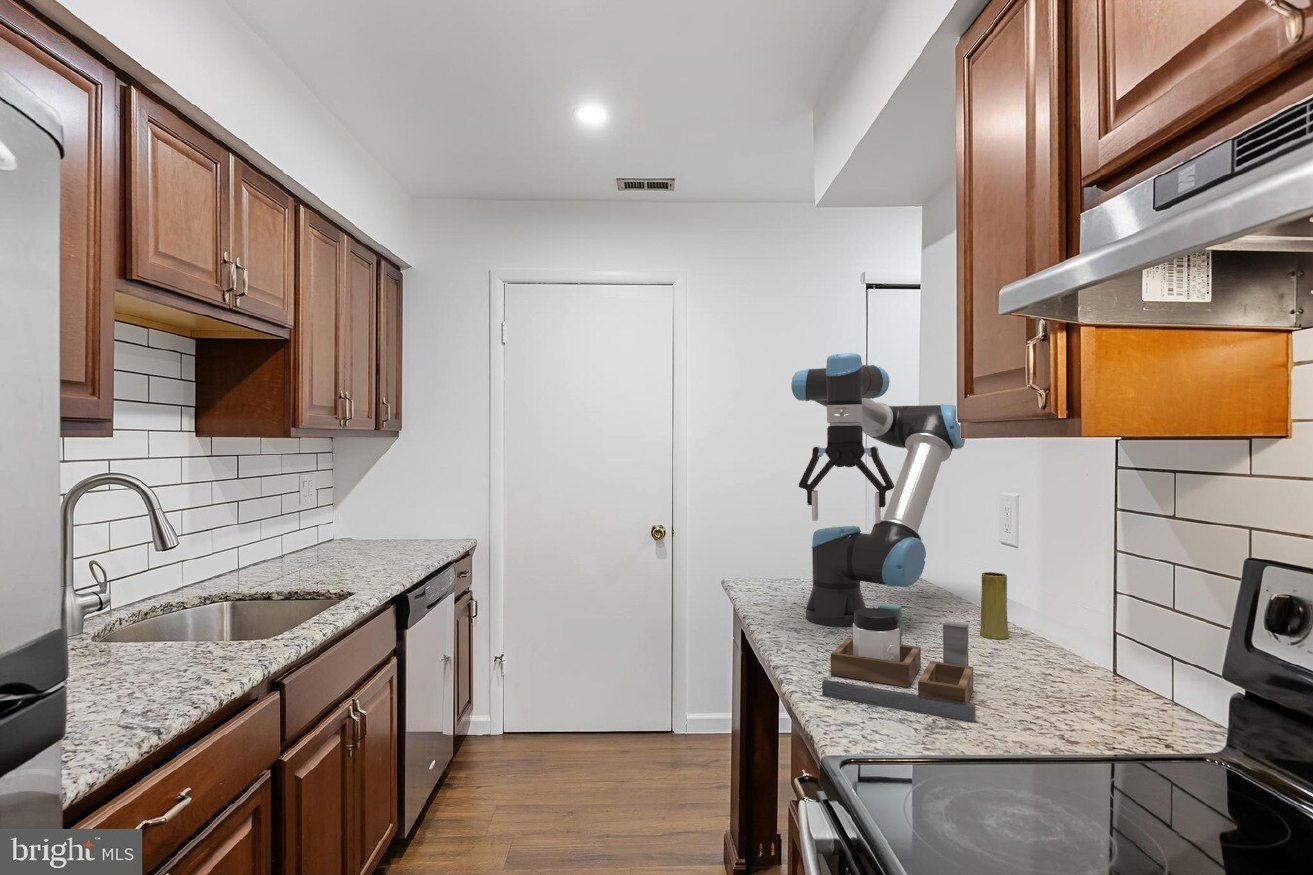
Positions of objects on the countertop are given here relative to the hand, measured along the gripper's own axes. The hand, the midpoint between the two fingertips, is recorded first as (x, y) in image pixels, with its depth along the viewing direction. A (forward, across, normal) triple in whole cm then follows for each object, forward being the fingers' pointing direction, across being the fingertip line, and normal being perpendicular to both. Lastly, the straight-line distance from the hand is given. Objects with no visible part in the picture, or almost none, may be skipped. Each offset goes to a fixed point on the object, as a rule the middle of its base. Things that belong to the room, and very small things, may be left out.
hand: (846, 521), depth 160 cm
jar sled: (+27, +9, -12) cm, 31 cm away
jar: (+27, +8, -18) cm, 34 cm away
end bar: (+27, +14, -34) cm, 45 cm away
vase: (+28, +29, +21) cm, 46 cm away
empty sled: (+27, +22, -21) cm, 41 cm away
